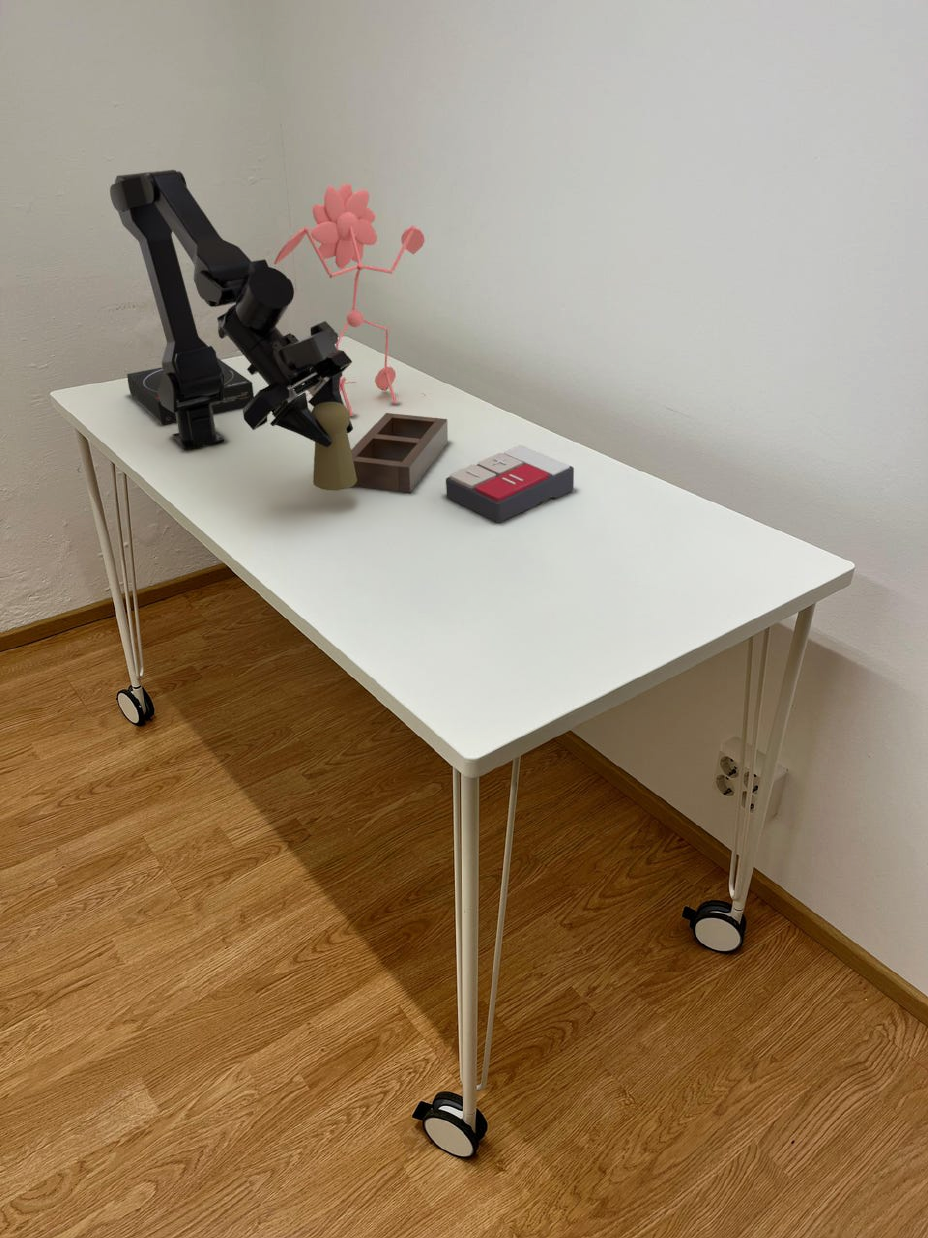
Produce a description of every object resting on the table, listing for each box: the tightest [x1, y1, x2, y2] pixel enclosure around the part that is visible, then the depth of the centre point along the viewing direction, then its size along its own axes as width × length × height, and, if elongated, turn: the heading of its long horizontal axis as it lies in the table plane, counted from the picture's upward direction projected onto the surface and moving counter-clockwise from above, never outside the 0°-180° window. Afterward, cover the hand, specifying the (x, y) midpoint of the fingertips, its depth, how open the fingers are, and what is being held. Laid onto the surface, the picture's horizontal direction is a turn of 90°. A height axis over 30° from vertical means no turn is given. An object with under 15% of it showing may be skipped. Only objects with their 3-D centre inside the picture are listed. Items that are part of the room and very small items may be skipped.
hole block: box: [351, 412, 449, 494], centre depth 148 cm, size 10×19×4 cm, turn 164°
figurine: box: [273, 182, 427, 417], centre depth 162 cm, size 15×26×35 cm, turn 128°
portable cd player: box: [126, 357, 255, 426], centre depth 171 cm, size 16×17×4 cm
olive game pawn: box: [310, 402, 357, 492], centre depth 132 cm, size 6×6×11 cm
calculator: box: [445, 444, 575, 523], centre depth 139 cm, size 11×4×15 cm
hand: (340, 438), depth 131 cm, fingers closed on olive game pawn, 5 cm apart
